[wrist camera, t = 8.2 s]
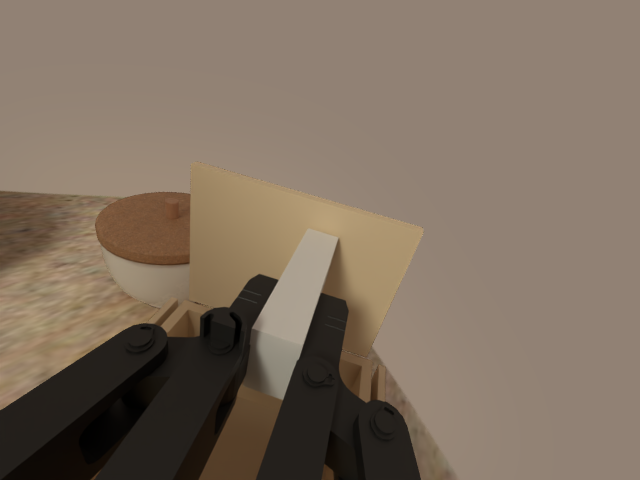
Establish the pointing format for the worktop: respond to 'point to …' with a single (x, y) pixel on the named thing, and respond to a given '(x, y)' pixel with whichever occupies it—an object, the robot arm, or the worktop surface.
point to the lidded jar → (148, 245)
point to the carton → (257, 402)
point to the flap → (293, 246)
